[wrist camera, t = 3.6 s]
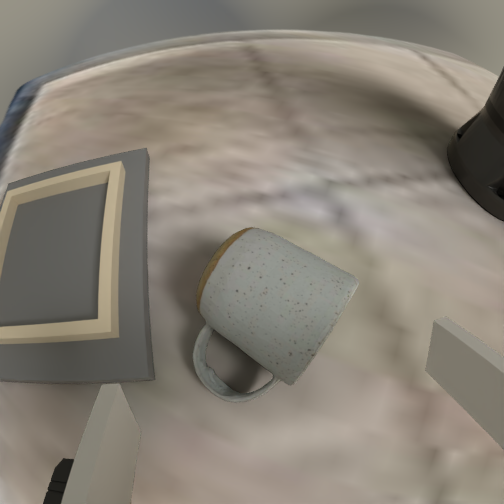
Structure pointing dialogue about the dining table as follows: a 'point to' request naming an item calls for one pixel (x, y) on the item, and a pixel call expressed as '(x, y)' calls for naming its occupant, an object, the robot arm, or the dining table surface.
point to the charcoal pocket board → (76, 274)
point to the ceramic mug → (268, 306)
